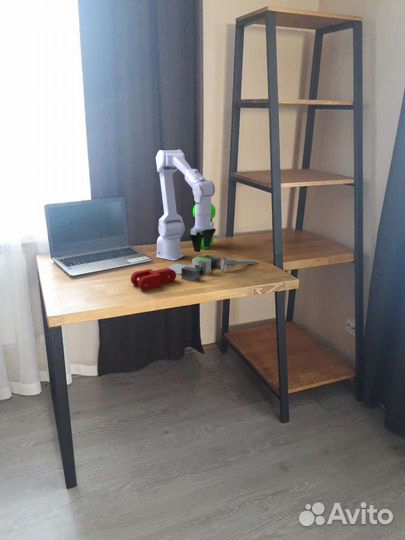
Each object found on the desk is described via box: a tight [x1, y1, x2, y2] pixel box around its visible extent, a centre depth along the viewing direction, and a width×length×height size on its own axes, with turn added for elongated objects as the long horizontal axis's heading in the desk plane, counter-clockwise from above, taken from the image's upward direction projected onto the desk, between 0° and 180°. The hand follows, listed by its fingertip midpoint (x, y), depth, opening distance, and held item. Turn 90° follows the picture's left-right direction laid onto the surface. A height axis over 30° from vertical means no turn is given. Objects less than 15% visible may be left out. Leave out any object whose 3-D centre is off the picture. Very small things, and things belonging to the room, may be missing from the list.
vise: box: [180, 254, 221, 282], centre depth 174 cm, size 6×20×4 cm, turn 151°
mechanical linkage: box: [130, 267, 177, 292], centre depth 161 cm, size 16×7×5 cm, turn 126°
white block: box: [191, 256, 212, 276], centre depth 174 cm, size 6×4×6 cm, turn 61°
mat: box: [167, 263, 192, 276], centre depth 177 cm, size 8×10×1 cm
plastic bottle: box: [192, 202, 217, 250], centre depth 203 cm, size 10×10×25 cm
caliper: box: [220, 256, 258, 273], centre depth 181 cm, size 20×1×6 cm, turn 132°
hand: (202, 249), depth 172 cm, fingers open, 7 cm apart
